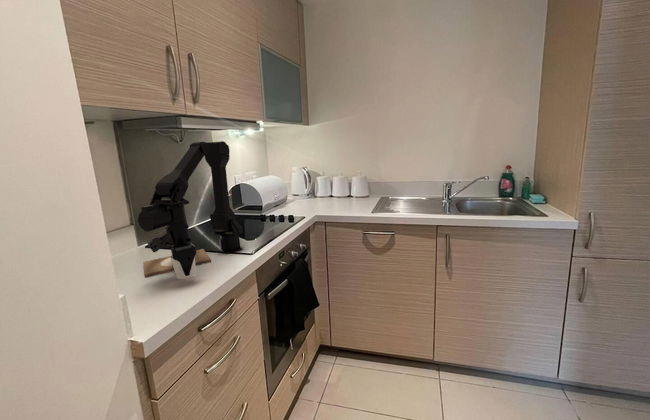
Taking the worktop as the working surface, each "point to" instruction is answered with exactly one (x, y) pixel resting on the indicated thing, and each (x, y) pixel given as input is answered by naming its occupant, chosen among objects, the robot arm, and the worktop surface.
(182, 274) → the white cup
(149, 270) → the serving board
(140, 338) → the worktop surface
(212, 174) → the robot arm
